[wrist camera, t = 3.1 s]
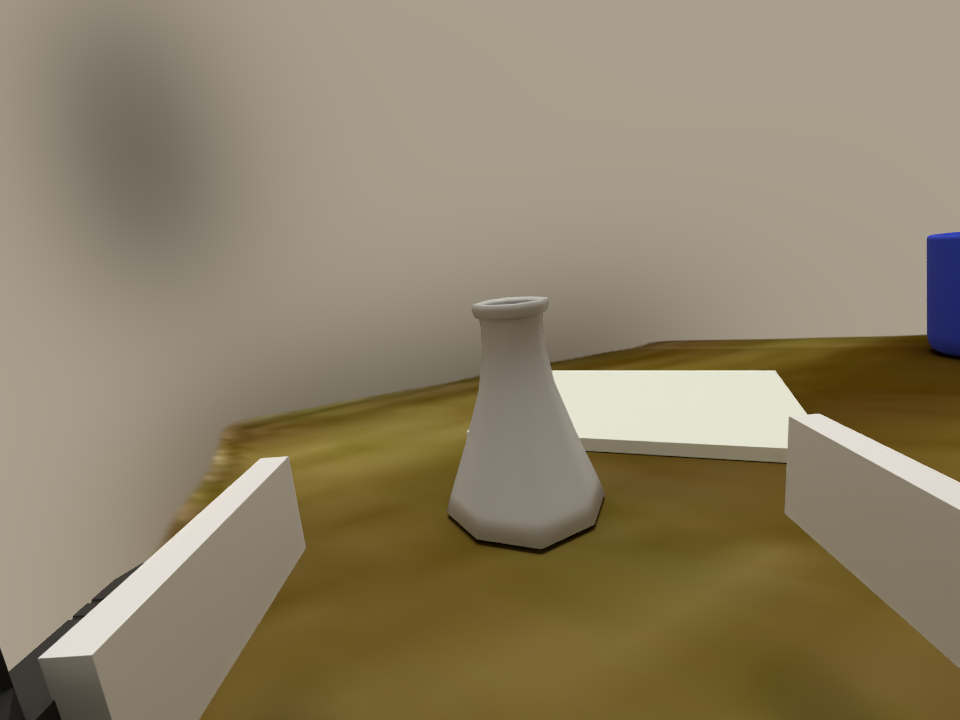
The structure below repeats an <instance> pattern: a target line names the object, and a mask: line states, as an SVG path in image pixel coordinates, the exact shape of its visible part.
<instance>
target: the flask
mask: <svg viewBox="0 0 960 720" xmlns="http://www.w3.org/2000/svg"><path fill="white" fill-rule="evenodd" d="M548 304H549V301H548V298H547V297H531V296H530V297H529V296H527V297H509V298H501V299H494V300H487V301H483V302H480V303H477V304H474V305H472V312H473V315H474V317H475V318H478V319H479V322H480V326H481V338H482V361H481V372H480V384H479V392H478V396H477V400H476V404H475V408H474V412H473V416H472V420H471V424H470V428H469V432H468V436H467V440H466V444H465V448H464V451H463V455H462V458H461V462H460V465H459V469H458V472H457V476H456V479H455V483H454V486H453V490H452V493H451V497H450V501H449V505H448V509H447V513H448V514H449V515H450V516H451V517H452V518H453V519H455V520H456V521H457V522H458V523H459V524H460V525H461V526H462V527H464V528H465V529H466V530H467V531H468V532H469V533H470V534H471V535H472V536H474V537H475V538H476V539H478V540H484V541H491V542H497V543H504V544H510V545H517V546H523V547H530V548H536V549H543V548H546V547H548V546H550V545H552V544H554V543H556V542H558V541H561V540H563V539H565V538H567V537H569V536H571V535H573V534H576V533H578V532H580V531H582V530H584V529H586V528H588V527H591V526H593V525H595V522H596V518H597V515H598V512H599V509H600V506H601V503H602V500H603V497H604V494H605V493H604V490H603V488H602V486H601V483H600V481H599V479H598V477H597V474H596V472H595V470H594V468H593V466H592V464H591V462H590V460H589V458H588V456H587V454H586V451H585V449H584V447H583V445H582V443H581V441H580V439H579V437H578V435H577V433H576V430H575V428H574V426H573V423H572V421H571V419H570V416H569V414H568V412H567V409H566V407H565V405H564V403H563V400H562V398H561V396H560V393H559V391H558V389H557V386H556V384H555V382H554V378H553V374H552V370H551V366H550V362H549V358H548V355H547V351H546V347H545V342H544V330H543V312H545V311H546V310H547V309H548Z"/></svg>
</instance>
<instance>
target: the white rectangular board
mask: <svg viewBox="0 0 960 720" xmlns="http://www.w3.org/2000/svg"><path fill="white" fill-rule="evenodd" d="M552 374H553V378H554V382H555V384H556V386H557V389H558V391H559V393H560V396H561V398H562V400H563V403H564V405H565V407H566V409H567V412H568V414H569V416H570V419H571V421H572V423H573V426H574V428H575V430H576V433H577V435H578V437H579V439H580V441H581V443H582V445H583V447H584V449H585V451H599V452H615V453H632V454H648V455H665V456H682V457H698V458H715V459H731V460H748V461H765V462H781V463H787V448H788V424H789V416H797V415H807V414H806V412H805V411H804V410H803V408H802V407H801V406H800V404H799V403H798V401H797V400H796V399H795V397H794V396H793V395H792V393H791V392H790V390H789V389H788V388H787V386H786V385H785V384H784V382H783V381H782V380H781V378H780V377H779V375H778V374H777V373H776V371H552ZM468 432H469V430H468V431H467V436H468Z"/></svg>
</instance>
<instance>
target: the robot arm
mask: <svg viewBox="0 0 960 720" xmlns="http://www.w3.org/2000/svg"><path fill="white" fill-rule="evenodd" d="M785 514H786V515H787V516H788V517H789V518H790V519H792V520H793V521H794V522H795V523H796V524H797V525H798V526H799V527H801V528H802V529H803V530H804V531H805V532H806V533H807V534H809V535H810V536H811V537H812V538H813V539H814V540H815V541H816V542H818V543H819V544H820V545H821V546H822V547H823V548H824V549H825V550H827V551H828V552H829V553H830V554H831V555H832V556H833V557H834V558H836V559H837V560H838V561H839V562H840V563H841V564H842V565H843V566H845V567H846V568H847V569H848V570H849V571H850V572H851V573H853V574H854V575H855V576H856V577H857V578H858V579H859V580H860V581H862V582H863V583H864V584H865V585H866V586H867V587H868V588H869V589H871V590H872V591H873V592H874V593H875V594H876V595H877V596H878V597H880V598H881V599H882V600H883V601H884V602H885V603H886V604H888V605H889V606H890V607H891V608H892V609H893V610H894V611H895V612H897V613H898V614H899V615H900V616H901V617H902V618H903V619H904V620H906V621H907V622H908V623H909V624H910V625H911V626H912V627H913V628H915V629H916V630H917V631H918V632H919V633H920V634H921V635H922V636H924V637H925V638H926V639H927V640H928V641H929V642H930V643H932V644H933V645H934V646H935V647H936V648H937V649H938V650H939V651H941V652H942V653H943V654H944V655H945V656H946V657H947V658H948V659H950V660H951V661H952V662H953V663H954V664H955V665H956V666H957V667H959V668H960V482H958V481H956V480H954V479H951V478H949V477H947V476H945V475H943V474H941V473H939V472H937V471H935V470H933V469H931V468H929V467H927V466H925V465H923V464H921V463H919V462H917V461H915V460H913V459H911V458H909V457H907V456H905V455H903V454H900V453H898V452H896V451H894V450H892V449H890V448H888V447H886V446H884V445H882V444H880V443H878V442H876V441H874V440H872V439H870V438H868V437H866V436H864V435H862V434H860V433H858V432H856V431H854V430H852V429H849V428H847V427H845V426H843V425H841V424H839V423H837V422H835V421H833V420H831V419H829V418H827V417H825V416H823V415H821V414H810V415H797V416H789V424H788V448H787V471H786V495H785ZM305 549H306V546H305V541H304V536H303V530H302V525H301V520H300V514H299V509H298V504H297V498H296V493H295V488H294V483H293V477H292V472H291V467H290V461H289V456H287V457H274V458H262V459H260V460H258V461H257V462H256V463H255V464H254V465H253V466H252V467H251V468H250V469H248V470H247V471H246V472H245V473H244V474H243V475H242V476H241V477H240V478H238V479H237V480H236V481H235V482H234V483H233V484H232V485H231V486H229V487H228V488H227V489H226V490H225V491H224V492H223V493H222V494H221V495H219V496H218V497H217V498H216V499H215V500H214V501H213V502H212V503H211V504H209V505H208V506H207V507H206V508H205V509H204V510H203V511H202V512H201V513H199V514H198V515H197V516H196V517H195V518H194V519H193V520H192V521H191V522H189V523H188V524H187V525H186V526H185V527H184V528H183V529H182V530H180V531H179V532H178V533H177V534H176V535H175V536H174V537H173V538H172V539H170V540H169V541H168V542H167V543H166V544H165V545H164V546H163V547H162V548H160V549H159V550H158V551H157V552H156V553H155V554H154V555H153V556H152V557H150V558H149V559H148V560H147V561H146V562H145V563H142V564H140V565H139V566H137V567H135V568H134V569H132V570H130V571H129V572H127V573H125V574H124V575H122V576H120V577H119V578H117V579H115V580H114V581H113V582H111V583H110V584H109V585H108V586H107V587H106V588H105V589H103V590H102V591H101V592H100V593H99V594H98V595H97V596H95V597H94V598H93V599H92V602H91V603H88V604H86V605H85V606H84V607H83V608H82V609H80V610H79V611H78V612H77V613H76V614H75V615H74V616H73V619H72V620H68V621H67V622H65V623H64V624H63V625H62V626H61V627H60V628H59V629H57V630H56V631H55V632H54V633H53V634H52V635H51V636H49V637H48V638H47V639H46V640H45V641H44V642H43V643H41V644H40V645H39V646H38V647H37V648H36V649H34V650H33V651H32V652H31V653H30V654H29V655H28V656H27V657H25V658H24V659H23V660H22V661H21V662H20V663H19V664H17V665H16V666H15V667H14V668H13V669H12V670H10V671H9V672H8V669H7V666H6V664H5V660H4V658H3V655H2V652H1V649H0V720H199V719H200V717H201V716H202V714H203V712H204V711H205V709H206V708H207V706H208V704H209V703H210V701H211V700H212V698H213V696H214V695H215V693H216V692H217V690H218V688H219V687H220V685H221V683H222V682H223V680H224V679H225V677H226V675H227V674H228V672H229V671H230V669H231V667H232V666H233V664H234V663H235V661H236V659H237V658H238V656H239V655H240V653H241V651H242V650H243V648H244V647H245V645H246V643H247V642H248V640H249V639H250V637H251V635H252V634H253V632H254V631H255V629H256V627H257V626H258V624H259V623H260V621H261V619H262V618H263V616H264V615H265V613H266V611H267V610H268V608H269V607H270V605H271V603H272V602H273V600H274V598H275V597H276V595H277V594H278V592H279V590H280V589H281V587H282V586H283V584H284V582H285V581H286V579H287V578H288V576H289V574H290V573H291V571H292V570H293V568H294V566H295V565H296V563H297V562H298V560H299V558H300V557H301V555H302V554H303V552H304V550H305Z"/></svg>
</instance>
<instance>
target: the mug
mask: <svg viewBox="0 0 960 720" xmlns="http://www.w3.org/2000/svg"><path fill="white" fill-rule="evenodd" d="M927 336H928V341H929V344H930V345H931V347H932V348H933V349H934V350H936V351H938V352H940V353H943V354H947V355H952V356H957V357H960V232H954V233H944V234H935V235H930V236H928V237H927Z"/></svg>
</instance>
